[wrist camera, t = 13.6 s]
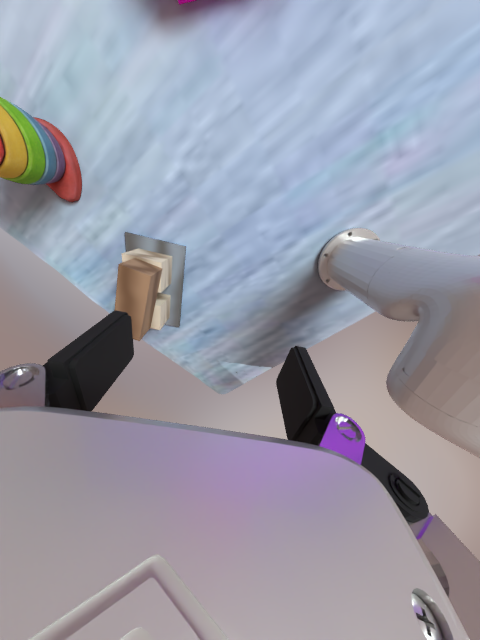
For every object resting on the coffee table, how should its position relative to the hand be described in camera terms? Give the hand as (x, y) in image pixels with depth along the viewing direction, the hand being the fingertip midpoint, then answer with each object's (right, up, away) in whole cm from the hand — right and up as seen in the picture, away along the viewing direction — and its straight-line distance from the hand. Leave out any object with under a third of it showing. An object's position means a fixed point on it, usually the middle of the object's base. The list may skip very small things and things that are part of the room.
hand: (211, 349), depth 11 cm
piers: (-18, +10, +32) cm, 38 cm away
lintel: (-18, +7, +26) cm, 32 cm away
